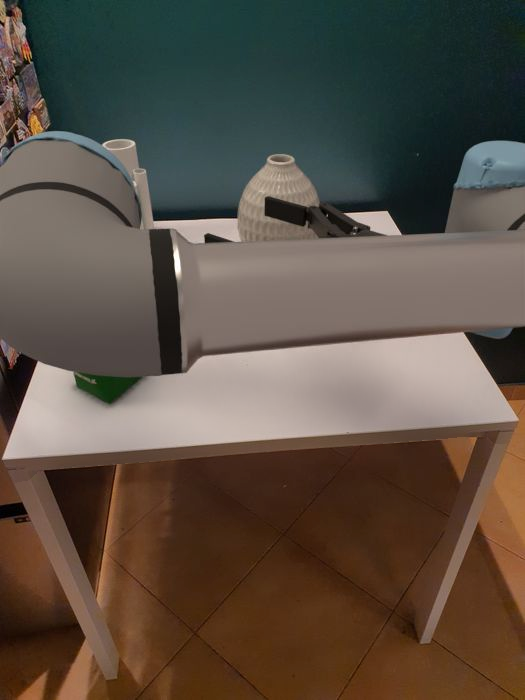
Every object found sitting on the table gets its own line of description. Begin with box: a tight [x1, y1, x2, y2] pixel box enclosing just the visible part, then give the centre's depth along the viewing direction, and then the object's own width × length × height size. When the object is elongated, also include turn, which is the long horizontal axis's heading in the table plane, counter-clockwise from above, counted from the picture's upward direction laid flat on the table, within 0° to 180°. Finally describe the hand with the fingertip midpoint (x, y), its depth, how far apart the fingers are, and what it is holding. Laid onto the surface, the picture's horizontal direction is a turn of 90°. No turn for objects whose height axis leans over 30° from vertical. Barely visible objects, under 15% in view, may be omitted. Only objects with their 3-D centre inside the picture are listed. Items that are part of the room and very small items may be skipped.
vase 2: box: [236, 153, 321, 242], centre depth 99 cm, size 16×16×22 cm
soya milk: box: [73, 372, 143, 405], centre depth 73 cm, size 9×9×20 cm
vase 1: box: [101, 138, 155, 229], centre depth 110 cm, size 11×7×20 cm, turn 27°
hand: (237, 223), depth 70 cm, fingers open, 13 cm apart
